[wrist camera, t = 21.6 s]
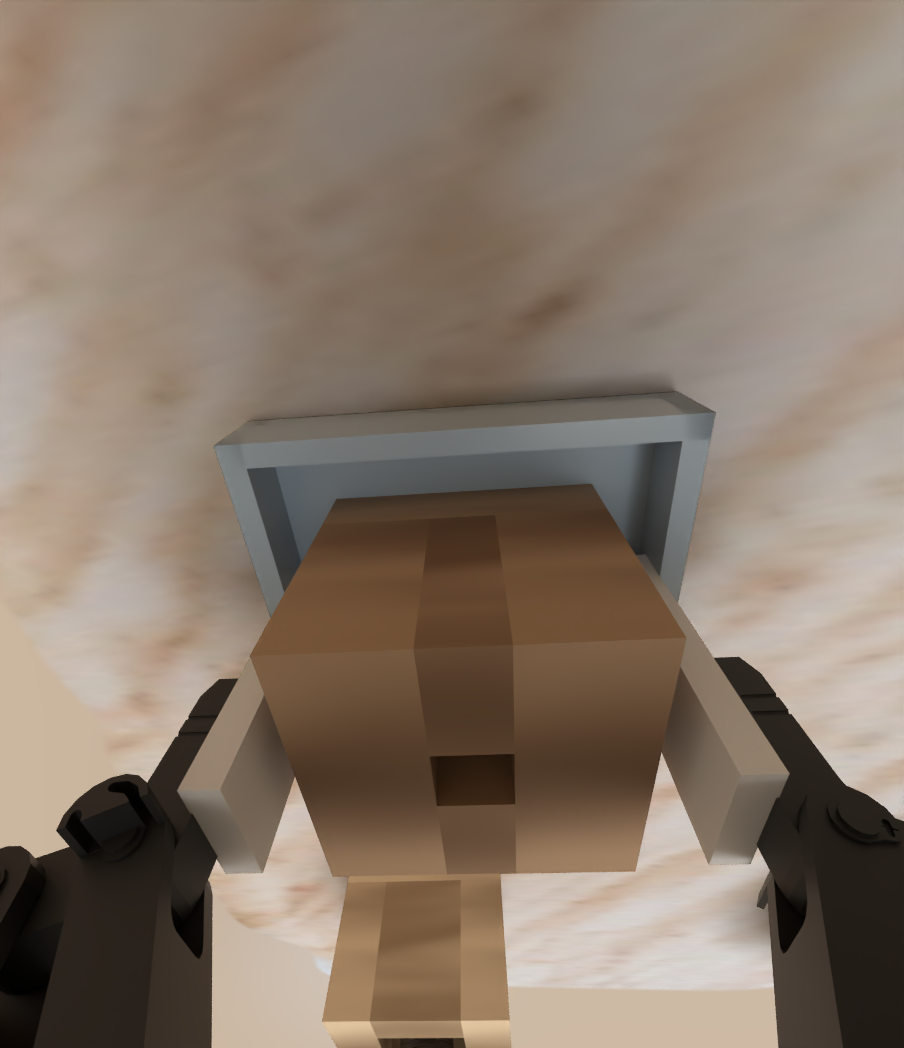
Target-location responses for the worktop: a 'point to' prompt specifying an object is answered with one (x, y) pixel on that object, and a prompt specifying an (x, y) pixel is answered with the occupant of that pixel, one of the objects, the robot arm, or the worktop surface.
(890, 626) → the worktop surface
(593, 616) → the walnut block
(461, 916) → the oak block
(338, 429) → the tray
